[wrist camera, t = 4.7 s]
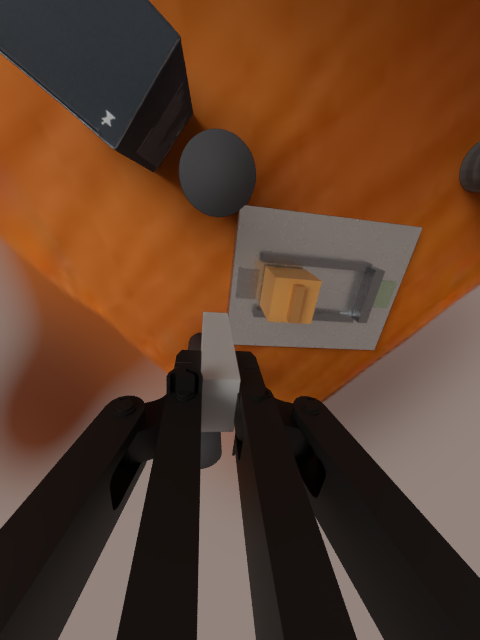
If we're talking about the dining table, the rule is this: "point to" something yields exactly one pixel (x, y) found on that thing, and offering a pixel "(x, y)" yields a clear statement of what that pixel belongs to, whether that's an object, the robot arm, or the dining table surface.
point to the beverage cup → (471, 170)
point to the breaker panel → (318, 276)
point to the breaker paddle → (289, 295)
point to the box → (105, 68)
